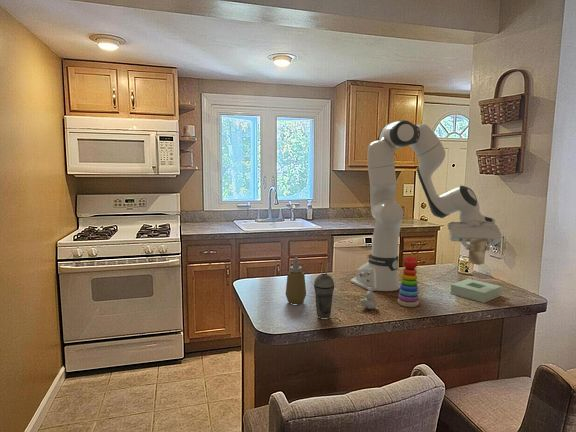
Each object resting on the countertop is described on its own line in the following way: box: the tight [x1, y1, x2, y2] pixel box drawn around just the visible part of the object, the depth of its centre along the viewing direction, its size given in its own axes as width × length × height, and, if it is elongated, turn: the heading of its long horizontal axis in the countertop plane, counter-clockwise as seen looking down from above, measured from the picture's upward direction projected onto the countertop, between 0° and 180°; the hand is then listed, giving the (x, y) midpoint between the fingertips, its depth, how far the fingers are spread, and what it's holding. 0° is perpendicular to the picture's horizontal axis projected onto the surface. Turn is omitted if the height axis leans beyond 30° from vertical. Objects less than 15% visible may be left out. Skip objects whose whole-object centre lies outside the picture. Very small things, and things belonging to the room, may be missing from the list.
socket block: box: [450, 278, 502, 304], centre depth 163 cm, size 14×14×4 cm
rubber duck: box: [360, 289, 378, 310], centre depth 146 cm, size 5×7×8 cm
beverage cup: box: [313, 261, 335, 319], centre depth 137 cm, size 7×7×20 cm
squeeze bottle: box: [285, 257, 307, 305], centre depth 151 cm, size 8×8×18 cm
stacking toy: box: [397, 256, 420, 308], centre depth 151 cm, size 8×8×19 cm
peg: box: [467, 239, 487, 266], centre depth 163 cm, size 4×4×10 cm
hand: (477, 249), depth 162 cm, fingers closed on peg, 6 cm apart
